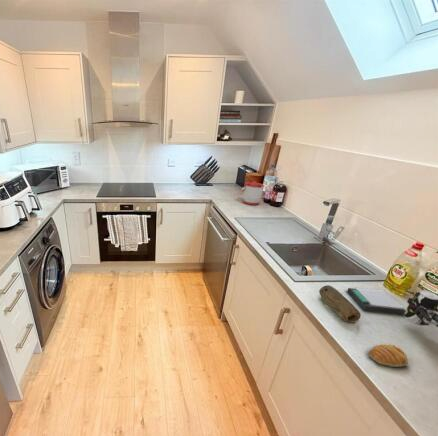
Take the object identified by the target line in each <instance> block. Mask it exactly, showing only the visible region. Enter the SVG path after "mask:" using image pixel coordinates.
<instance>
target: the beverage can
mask: <svg viewBox="0 0 438 436" xmlns="http://www.w3.org/2000/svg"><path fill="white" fill-rule="evenodd" d="M411 298H412V302H413V303H414V304H413V306H411V305H410V304H408V305H407V308H406V309H405V310H406V311H405V313H404V315H403V317H404V319H406V320H407V321H408V322H409V323H411V324H414V325H417V326H426V325H425V324H424V323H423V322H422V321H421V320H420V319H419V318H418V316H417V315H416V314H415V313H414V312H415V311H416V308H417V307H418V306H419V307H420V306H424V307H425V308H428V309H430V310H431V309H433V310H436V309H437V307H438V295H437V294H436V293H434V292H432V291H429V290H425V289H420V290H419V291H418V292H415V293H414V295H413V297H411ZM424 311H425V312H426V313H427V311H426V310H424ZM432 315H433V314H432ZM431 317H432V316H431Z"/></svg>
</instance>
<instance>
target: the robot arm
mask: <svg viewBox="0 0 438 436" xmlns="http://www.w3.org/2000/svg"><path fill="white" fill-rule="evenodd" d="M412 298H413V297H409V298H407V301H406V303H407V304H408V305H409V304H410V305H411V306H413V304H414V303H413V302H412ZM424 310H426V311H427V313H426V312H425V311H424ZM414 313H415V314H416V315H417V316H418V318H419V319H420V320H421V321H422V322H423V323H424V324H425V326H430V325H433V326H435V327H437V328H438V307H437V309H436V310H433V309H431V310H430V309H428V308H425V307H424V306H420V307H419V306H418V307H417V308H416V311H415V312H414ZM432 314H433V315H432ZM431 316H432V317H431Z"/></svg>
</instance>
